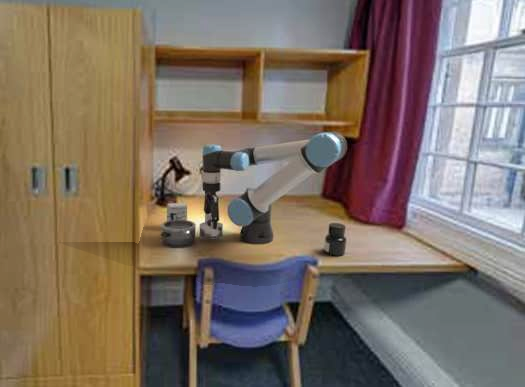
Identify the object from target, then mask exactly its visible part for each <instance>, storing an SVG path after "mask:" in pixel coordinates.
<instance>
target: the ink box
mask: <svg viewBox="0 0 525 387" xmlns="http://www.w3.org/2000/svg"><path fill="white" fill-rule="evenodd" d="M169 220H188V205H187V204H186V203H185V202H178V203H177V202H175V203H173V202H172V203H167V204H166V221H169Z"/></svg>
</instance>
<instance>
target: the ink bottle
mask: <svg viewBox="0 0 525 387" xmlns="http://www.w3.org/2000/svg"><path fill="white" fill-rule="evenodd" d="M327 231H328V233H327V235H326V236H324V246H323V252H324V253H325V254H327V255H331V256H334V255H335V257H339V256H340V255H341V256H344V255H345V254H346V248H347V237H346V236H345V234H346V225H345V224H343V223H339V222H330V223H329V224H328V230H327ZM343 254H344V255H343ZM341 256H340V257H341Z"/></svg>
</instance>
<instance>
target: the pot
mask: <svg viewBox="0 0 525 387" xmlns="http://www.w3.org/2000/svg"><path fill="white" fill-rule="evenodd" d="M196 226H197V223H195V222H194V221H192V220H188V219H187V220H169V221H167V220H166V221H163V222H162V223H161V233H160V237H161V244H162V245H163V246H164V247H167V248H172V249H173V248H174V249H182V248H189V247H191V246H193V245H195V243H196Z"/></svg>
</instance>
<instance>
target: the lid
mask: <svg viewBox="0 0 525 387" xmlns="http://www.w3.org/2000/svg"><path fill="white" fill-rule="evenodd" d="M210 220H212V218H211V219H210ZM210 220H208V221H207V222H205V221H204V222H201V223H200V224H199V230H198V231H199V234H198V235H199V237H201V238H204V239H212V240H213V239H218V238H222V237H223V234H224V230H223V229H224V228H223V227H224V225H223V223H221V222H220V221H218V236H211V222H210Z"/></svg>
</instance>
